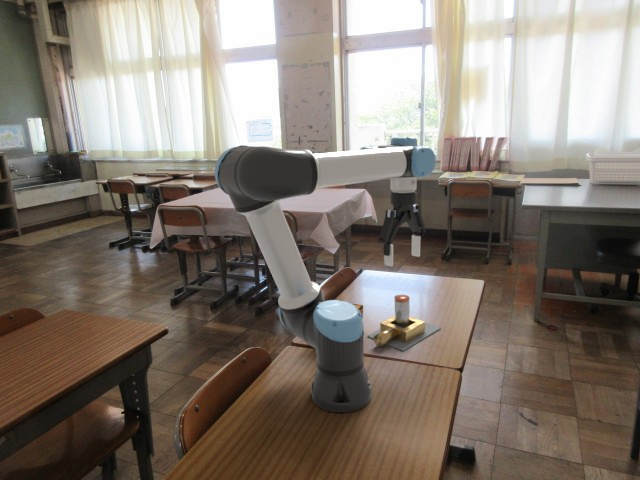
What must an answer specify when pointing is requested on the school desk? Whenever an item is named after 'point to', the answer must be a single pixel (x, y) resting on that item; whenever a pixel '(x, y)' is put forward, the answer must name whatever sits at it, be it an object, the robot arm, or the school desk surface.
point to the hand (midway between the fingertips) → (402, 260)
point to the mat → (403, 346)
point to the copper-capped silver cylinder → (402, 311)
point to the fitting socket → (398, 331)
